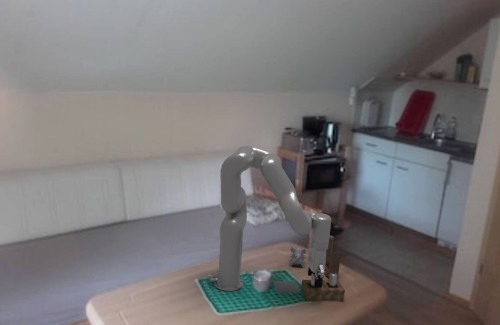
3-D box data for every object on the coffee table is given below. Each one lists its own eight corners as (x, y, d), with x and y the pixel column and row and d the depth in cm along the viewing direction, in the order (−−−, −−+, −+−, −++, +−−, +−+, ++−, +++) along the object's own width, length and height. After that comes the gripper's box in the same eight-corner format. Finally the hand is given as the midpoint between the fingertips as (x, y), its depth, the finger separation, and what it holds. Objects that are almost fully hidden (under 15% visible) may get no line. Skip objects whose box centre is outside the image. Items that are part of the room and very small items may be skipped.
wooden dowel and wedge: (330, 281, 202) (335, 244, 197) (320, 270, 212) (324, 234, 207) (338, 280, 203) (342, 244, 199) (327, 269, 213) (331, 234, 209)
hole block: (306, 301, 183) (307, 290, 182) (300, 290, 192) (302, 279, 190) (343, 301, 185) (344, 290, 184) (336, 290, 194) (337, 279, 193)
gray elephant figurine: (290, 269, 210) (292, 255, 208) (283, 257, 221) (285, 243, 219) (308, 269, 212) (310, 255, 210) (301, 257, 223) (303, 243, 221)
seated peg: (328, 297, 187) (331, 276, 185) (326, 293, 190) (329, 272, 188) (335, 297, 188) (338, 276, 186) (333, 293, 191) (335, 272, 188)
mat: (277, 293, 187) (277, 292, 187) (272, 281, 197) (272, 280, 197) (300, 293, 189) (300, 292, 189) (294, 281, 199) (294, 280, 199)
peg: (310, 297, 186) (312, 276, 184) (308, 293, 189) (310, 272, 187) (317, 297, 187) (319, 276, 184) (315, 293, 190) (317, 272, 187)
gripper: (304, 234, 190) (300, 271, 194) (316, 252, 173) (311, 292, 177) (321, 235, 191) (317, 271, 195) (334, 252, 175) (329, 291, 179)
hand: (314, 281), depth 186 cm, fingers open, 9 cm apart
